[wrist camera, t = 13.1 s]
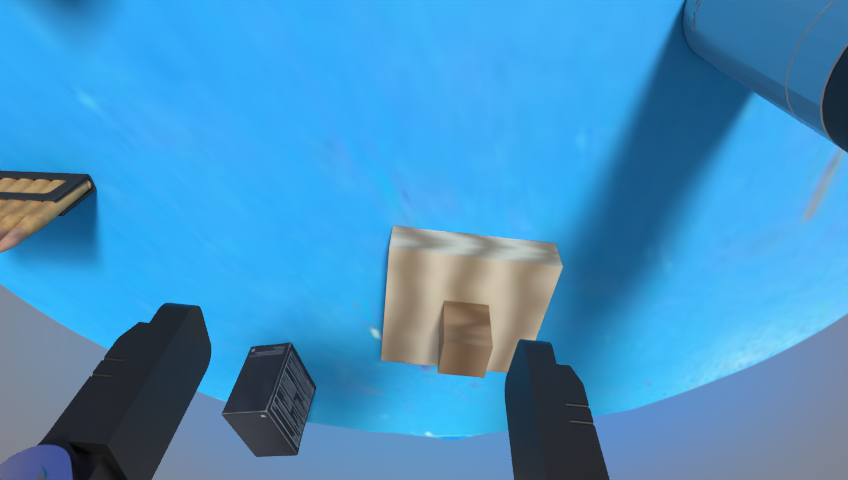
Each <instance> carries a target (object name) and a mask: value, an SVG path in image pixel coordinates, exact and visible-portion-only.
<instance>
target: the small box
mask: <svg viewBox="0 0 848 480" xmlns="http://www.w3.org/2000/svg"><path fill="white" fill-rule="evenodd" d="M315 389H316V387H315V385H314V383H313V381H312V379H311V378H310V376H309V374H308V372H307V370H306V369H305V367H304V365H303V363H302V361H301V360H300V358H299V356H298V354H297V352H296V351H295V349H294V347H293V345H292V344H291V343H286V344H278V345H266V346H256V347H251V349H250V351H249V353H248V356H247V358H246V360H245V363H244V365H243V367H242V369H241V372H240V374H239V376H238V378H237V381H236V383H235V385H234V387H233V390H232V392H231V394H230V397H229V399H228V401H227V403H226V406H225V408H224V411H223V412H222V415H223V417H224V418H225V419H226V420H227V421H228V422H229V424H230V425H231V426H232V428H233V429H234V430H235V431H236V432H237V434H238V435H239V436H240V437H241V439H242V440H243V441H244V442H245V444H246V445H247V446H248V447H249V449H250V450H251V451H252V452H253V453H254V455H255V456H256V457H262V456H288V455H289V456H292V455H297V454H298V450H299V446H300V441H301V437H302V434H303V430H304V426H305V423H306V420H307V416H308V413H309V409H310V406H311V402H312V399H313V396H314V392H315Z"/></svg>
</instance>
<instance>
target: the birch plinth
mask: <svg viewBox="0 0 848 480" xmlns="http://www.w3.org/2000/svg"><path fill="white" fill-rule="evenodd" d="M562 268H563V265H562V262H561V259H560V256H559V252H558V249H557V246H556V243H548V242H538V241H529V240H520V239H511V238H501V237H492V236H483V235H473V234H464V233H455V232H446V231H436V230H427V229H418V228H409V227H399V226H393V228H392V235H391V241H390V247H389V259H388V272H387V286H386V299H385V313H384V326H383V340H382V353H381V360H382V361H392V362H402V363H412V364H422V365H432V366H438V341H439V326H440V321H441V315H442V310H443V304H444V300H445V301H455V302H465V303H475V304H484V305H489V312H490V322H491V332H492V342H493V349H492V353H491V356H490V360H489V363H488V366H487V370H486V371H493V372H503V373H508V370H509V367H510V364H511V361H512V358H513V355H514V352H515V349H516V346H517V343H518V341H519V340H520V339H524V340H534V341H535V340H536V337H537V335H538V332H539V329H540V327H541V324H542V321H543V319H544V316H545V313H546V311H547V308H548V305H549V303H550V300H551V297H552V295H553V292H554V289H555V287H556V284H557V282H558V279H559V276H560V274H561V271H562Z"/></svg>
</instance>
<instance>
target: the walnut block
mask: <svg viewBox="0 0 848 480" xmlns="http://www.w3.org/2000/svg"><path fill="white" fill-rule="evenodd" d="M492 349H493V342H492V332H491V322H490V312H489V305H484V304H475V303H465V302H455V301H445V300H444V304H443V310H442V315H441V321H440V326H439V341H438V373H441V374H451V375H461V376H471V377H481V378H484V376H485V373H486V370H487V366H488V363H489V360H490V356H491V353H492Z"/></svg>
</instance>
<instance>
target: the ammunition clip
mask: <svg viewBox="0 0 848 480" xmlns="http://www.w3.org/2000/svg"><path fill="white" fill-rule="evenodd" d="M95 190H96V188H95V186H94V184H93V182H92V180H91V178H90V176H89V175H88V174H70V173H44V172H18V171H0V253H1V252H4V251H6V250H9V249H11V248H13V247H14V246H16V245H18V244H19V243H21V242H22V241H23V240H24V239H26V238H28V237H29V236H30V235H32V234H33V233H35V232H37V231H39V230H41V229H42V228H43V227H44V226H46V225H47V224H48V223H49V222H51V221H52V220H53V219H54V218H55V217H57V216H64V215H65V214H66V213H67V212H69V211H70V210H71V209H72V208H74V207H75V206H76V205H77V204H79V203H80V202H81V201H82V200H84V199H85V198H86V197H87V196H89V195H90V194H91V193H92V192H94V191H95Z"/></svg>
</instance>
